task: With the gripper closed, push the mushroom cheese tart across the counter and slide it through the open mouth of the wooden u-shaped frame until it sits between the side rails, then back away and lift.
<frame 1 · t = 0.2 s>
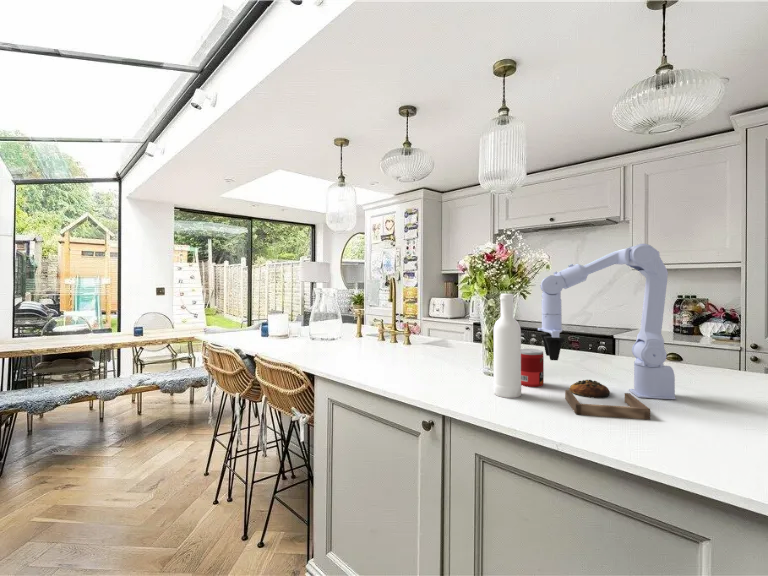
hand: (551, 357, 124), 10 cm above the counter, tool pointing down, fingers open, 7 cm apart
mushroom cheese tart: (589, 394, 119), on the counter
wooden u-shaped frame: (604, 408, 105), on the counter
bottle: (507, 395, 118), on the counter
canned food: (530, 384, 130), on the counter
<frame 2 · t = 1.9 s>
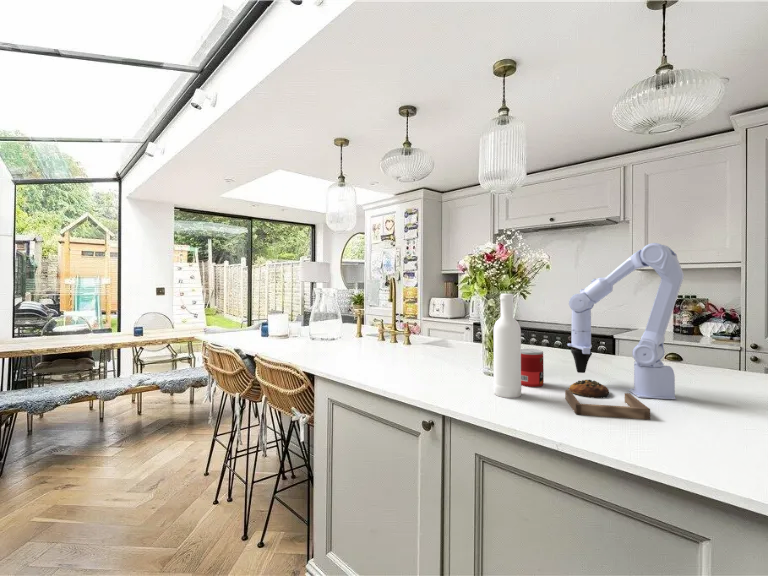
hand: (581, 372, 130), 4 cm above the counter, tool pointing down, fingers closed
nothing on the counter moved.
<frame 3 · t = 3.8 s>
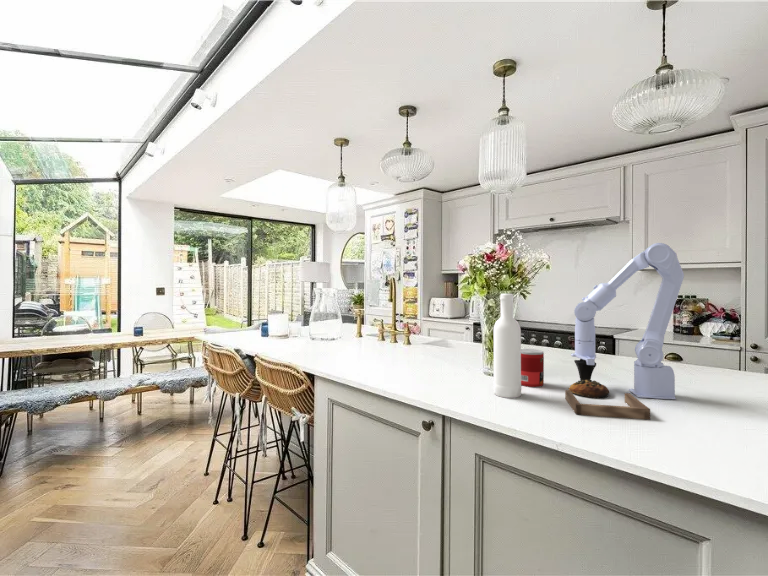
hand: (585, 383, 125), 1 cm above the counter, tool pointing down, fingers closed
nothing on the counter moved.
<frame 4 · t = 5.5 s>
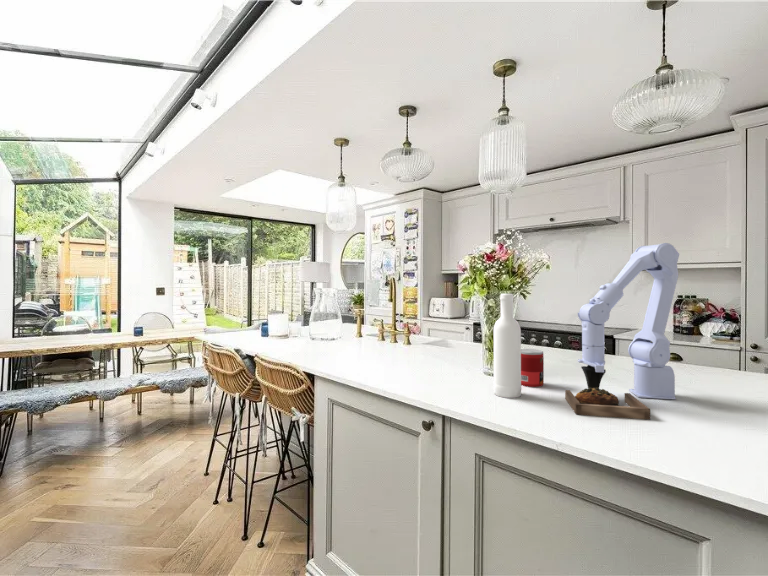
hand: (593, 392, 115), 1 cm above the counter, tool pointing down, fingers closed
mushroom cheese tart: (596, 403, 110), on the counter, touching gripper
everything else where it was.
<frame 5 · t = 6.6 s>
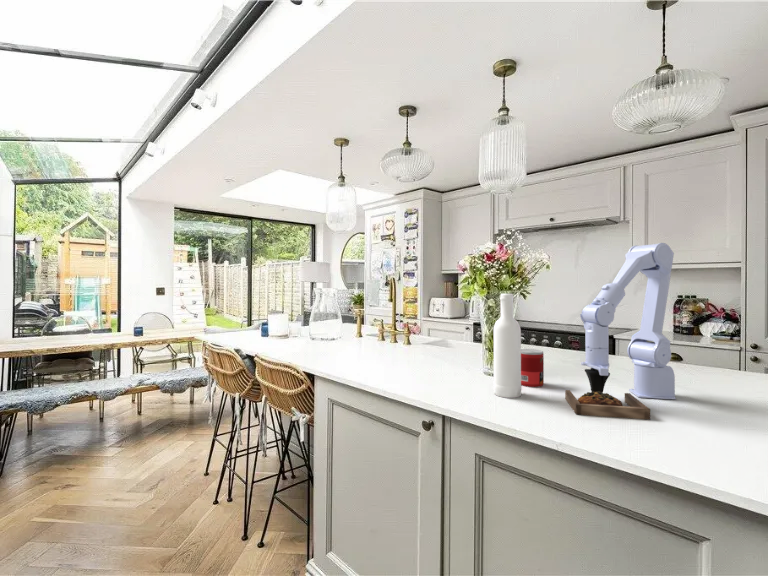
hand: (597, 395, 111), 1 cm above the counter, tool pointing down, fingers closed
mushroom cheese tart: (599, 408, 106), on the counter, touching gripper
everything else where it was.
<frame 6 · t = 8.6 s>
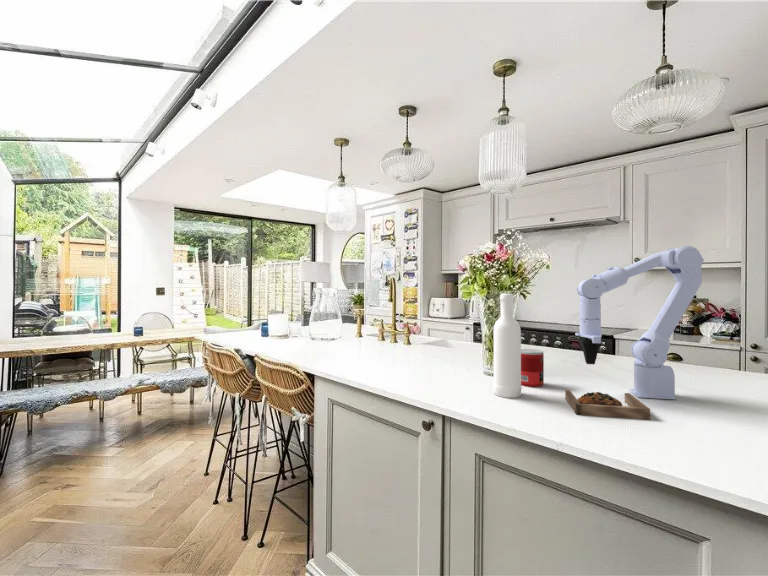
hand: (590, 363, 120), 9 cm above the counter, tool pointing down, fingers closed
mushroom cheese tart: (598, 408, 106), on the counter
everything else where it was.
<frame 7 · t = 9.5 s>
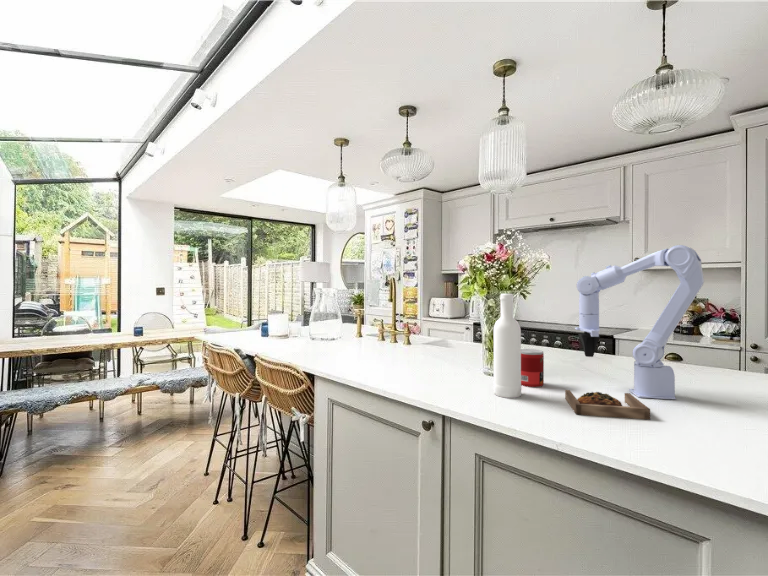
hand: (589, 356, 127), 9 cm above the counter, tool pointing down, fingers closed
nothing on the counter moved.
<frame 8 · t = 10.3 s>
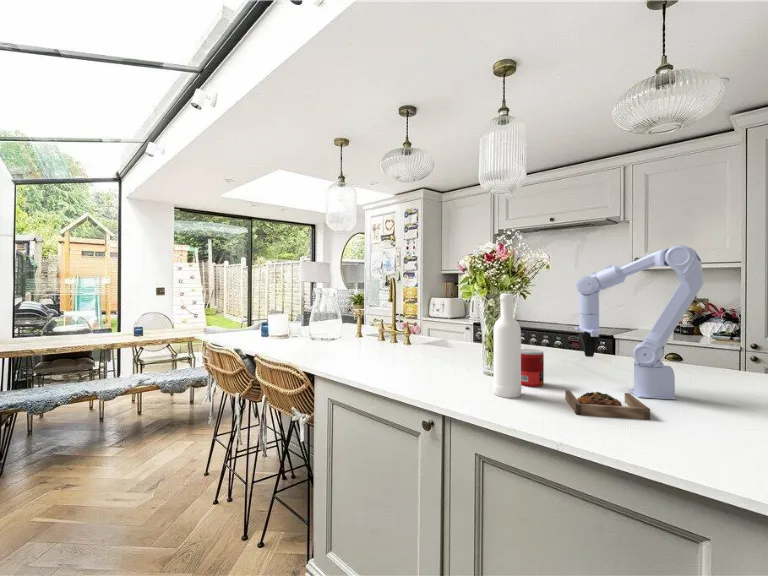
hand: (589, 356, 127), 9 cm above the counter, tool pointing down, fingers closed
nothing on the counter moved.
at the end: mushroom cheese tart inside the target area on the wooden u-shaped frame (1.4 cm from its centre), point -0.5 cm above the wooden u-shaped frame's base; the gripper is holding nothing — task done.
